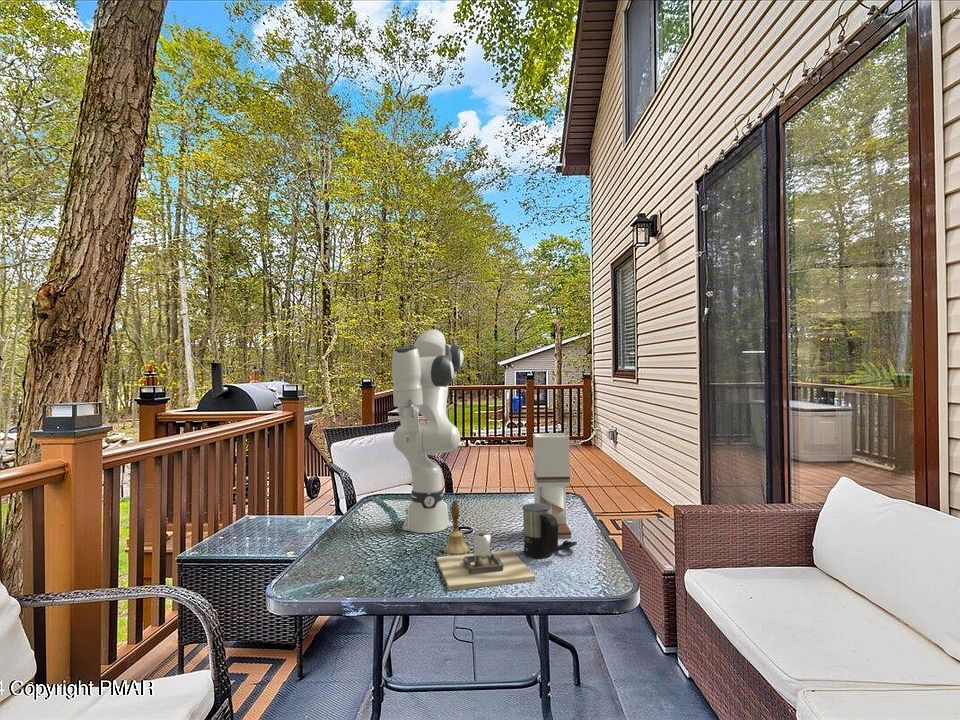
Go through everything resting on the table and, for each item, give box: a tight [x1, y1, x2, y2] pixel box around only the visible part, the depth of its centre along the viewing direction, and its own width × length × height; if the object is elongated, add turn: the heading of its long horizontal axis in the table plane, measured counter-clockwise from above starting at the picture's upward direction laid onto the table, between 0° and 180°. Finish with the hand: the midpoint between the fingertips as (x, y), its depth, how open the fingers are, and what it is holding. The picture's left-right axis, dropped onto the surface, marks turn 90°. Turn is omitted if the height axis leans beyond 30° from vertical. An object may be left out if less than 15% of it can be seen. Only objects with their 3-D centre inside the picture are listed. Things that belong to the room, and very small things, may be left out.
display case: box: [532, 432, 572, 539], centre depth 178 cm, size 11×11×35 cm
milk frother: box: [521, 502, 578, 559], centre depth 158 cm, size 14×16×15 cm
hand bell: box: [443, 499, 470, 556], centre depth 162 cm, size 8×8×16 cm
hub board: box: [436, 549, 536, 591], centre depth 144 cm, size 22×24×3 cm
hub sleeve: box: [473, 531, 492, 567], centre depth 144 cm, size 5×5×9 cm
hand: (410, 445), depth 151 cm, fingers open, 8 cm apart
